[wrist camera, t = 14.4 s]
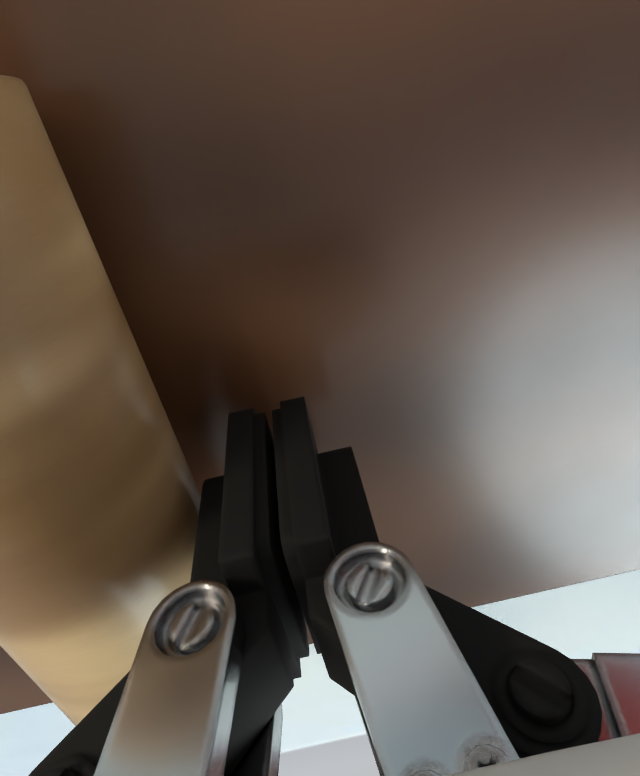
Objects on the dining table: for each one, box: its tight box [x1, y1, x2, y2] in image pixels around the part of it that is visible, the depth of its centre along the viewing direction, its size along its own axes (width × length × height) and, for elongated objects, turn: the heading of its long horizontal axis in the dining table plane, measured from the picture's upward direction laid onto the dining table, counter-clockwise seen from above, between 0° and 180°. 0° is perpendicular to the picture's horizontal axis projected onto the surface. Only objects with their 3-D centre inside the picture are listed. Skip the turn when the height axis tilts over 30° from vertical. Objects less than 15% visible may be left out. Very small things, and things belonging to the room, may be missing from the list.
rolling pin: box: [0, 75, 201, 726], centre depth 10 cm, size 22×4×4 cm, turn 10°
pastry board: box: [0, 0, 640, 714], centre depth 12 cm, size 18×24×2 cm
